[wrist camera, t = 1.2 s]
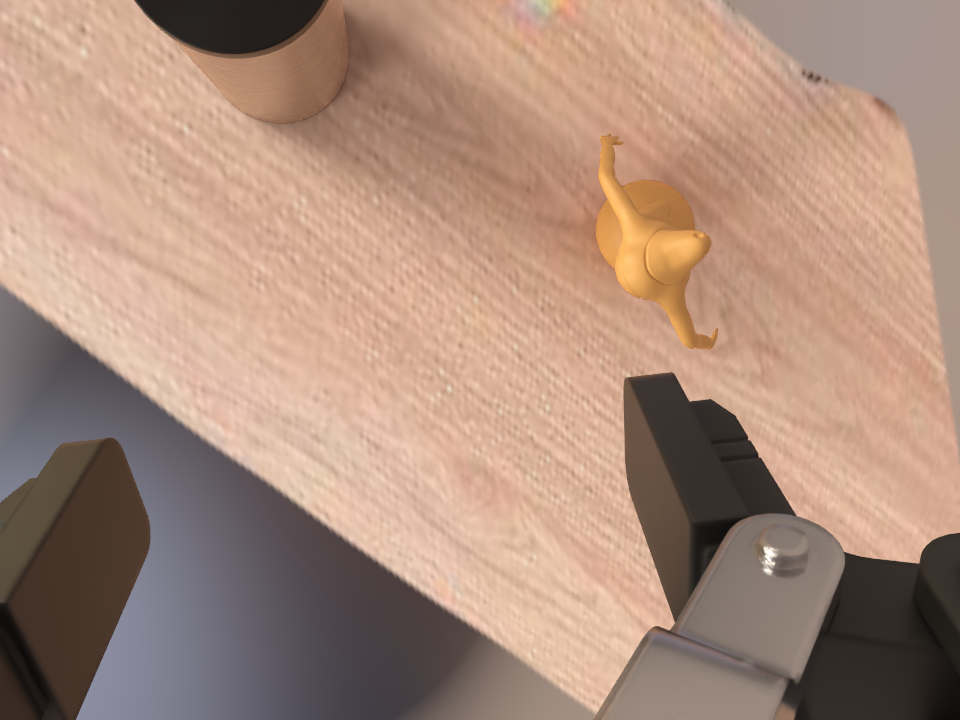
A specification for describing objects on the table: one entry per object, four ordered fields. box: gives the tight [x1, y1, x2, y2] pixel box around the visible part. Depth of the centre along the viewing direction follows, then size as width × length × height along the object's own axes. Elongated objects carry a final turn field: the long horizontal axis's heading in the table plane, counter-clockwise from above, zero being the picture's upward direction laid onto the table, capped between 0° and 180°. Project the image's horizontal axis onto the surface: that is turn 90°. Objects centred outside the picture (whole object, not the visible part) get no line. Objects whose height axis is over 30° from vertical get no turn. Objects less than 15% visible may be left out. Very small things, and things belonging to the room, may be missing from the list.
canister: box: [135, 0, 349, 123], centre depth 28 cm, size 6×6×12 cm
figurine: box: [596, 134, 718, 350], centre depth 30 cm, size 8×6×12 cm
